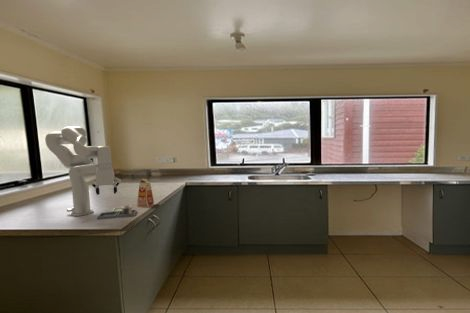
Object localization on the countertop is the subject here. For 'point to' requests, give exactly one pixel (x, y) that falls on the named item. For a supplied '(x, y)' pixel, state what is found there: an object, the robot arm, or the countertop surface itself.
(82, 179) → the robot arm
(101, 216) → the dish left
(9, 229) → the countertop surface
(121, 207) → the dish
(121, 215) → the dish right
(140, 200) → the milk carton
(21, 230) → the countertop surface
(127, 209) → the letter cube
